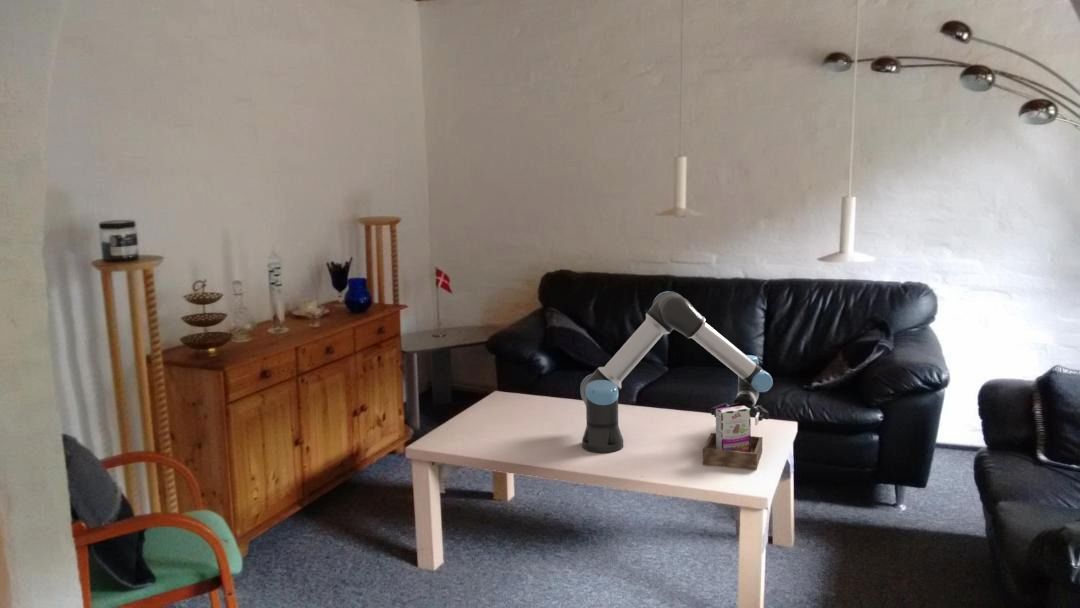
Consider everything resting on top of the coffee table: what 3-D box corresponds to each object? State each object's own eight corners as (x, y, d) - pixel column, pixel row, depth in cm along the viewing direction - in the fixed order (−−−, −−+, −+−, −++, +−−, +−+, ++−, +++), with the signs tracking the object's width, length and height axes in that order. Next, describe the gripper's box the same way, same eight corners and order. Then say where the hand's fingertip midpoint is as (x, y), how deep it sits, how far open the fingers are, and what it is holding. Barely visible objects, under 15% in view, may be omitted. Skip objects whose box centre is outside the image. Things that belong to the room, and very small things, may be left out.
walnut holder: (702, 464, 295) (702, 449, 294) (710, 447, 311) (711, 432, 310) (756, 469, 289) (756, 454, 288) (762, 452, 305) (762, 437, 304)
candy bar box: (743, 449, 304) (744, 404, 301) (750, 454, 299) (751, 408, 296) (714, 453, 301) (715, 408, 298) (721, 458, 296) (722, 412, 293)
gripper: (778, 415, 319) (772, 433, 299) (710, 410, 327) (700, 427, 308) (779, 395, 317) (773, 412, 298) (711, 391, 326) (700, 406, 307)
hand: (736, 419), depth 303 cm, fingers open, 13 cm apart
